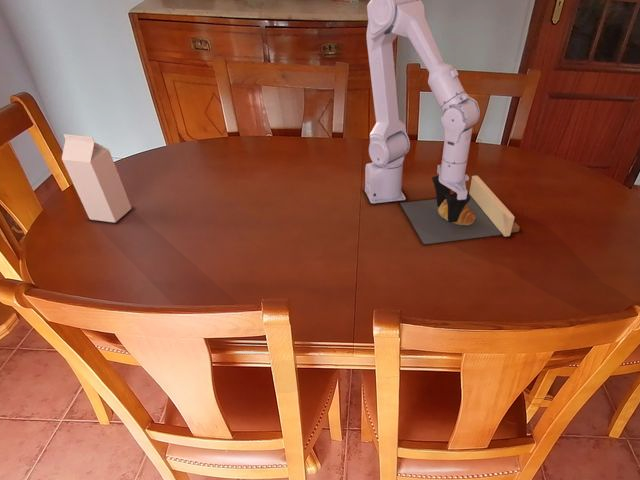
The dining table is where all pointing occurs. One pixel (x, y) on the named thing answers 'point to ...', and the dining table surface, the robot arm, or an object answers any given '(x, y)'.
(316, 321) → the dining table surface
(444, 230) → the placemat
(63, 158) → the milk carton
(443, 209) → the pastry
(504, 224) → the back board
